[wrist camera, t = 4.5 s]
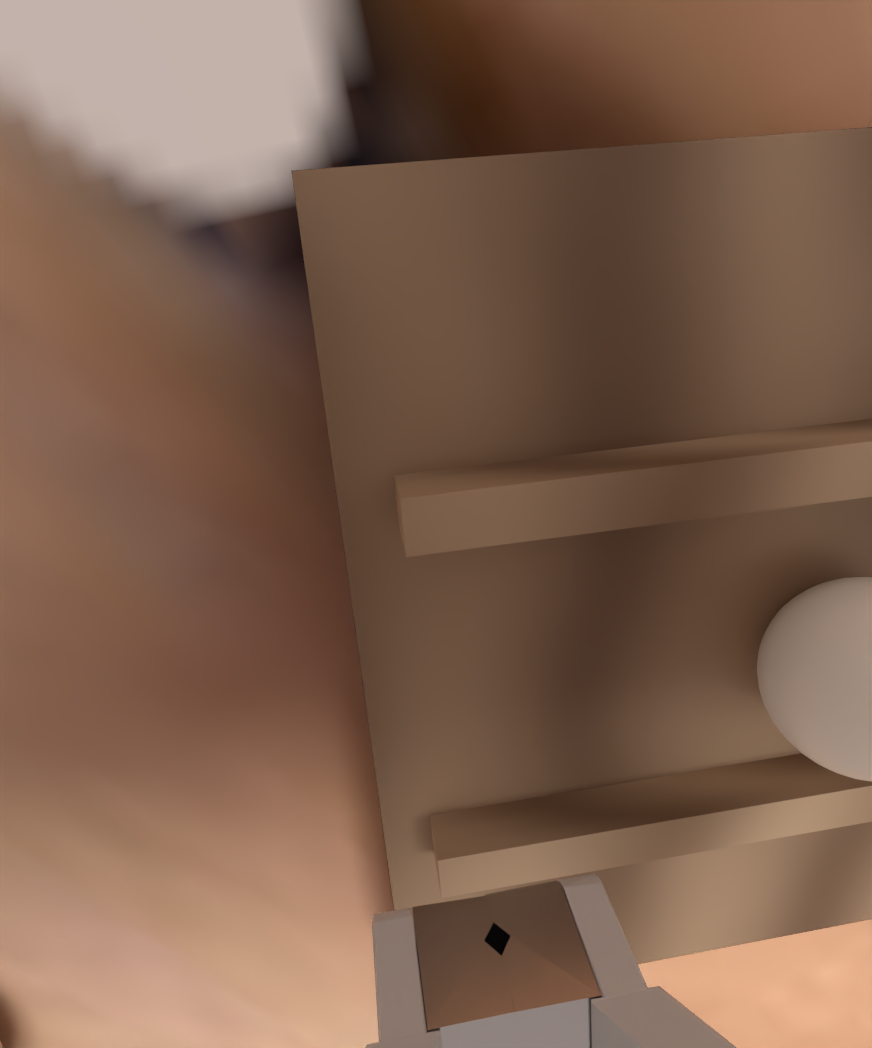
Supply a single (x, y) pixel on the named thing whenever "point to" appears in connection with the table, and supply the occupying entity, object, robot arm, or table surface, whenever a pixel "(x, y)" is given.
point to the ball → (823, 674)
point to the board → (601, 514)
